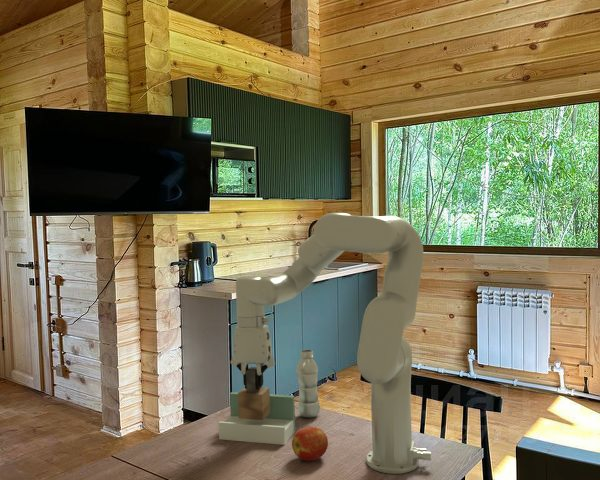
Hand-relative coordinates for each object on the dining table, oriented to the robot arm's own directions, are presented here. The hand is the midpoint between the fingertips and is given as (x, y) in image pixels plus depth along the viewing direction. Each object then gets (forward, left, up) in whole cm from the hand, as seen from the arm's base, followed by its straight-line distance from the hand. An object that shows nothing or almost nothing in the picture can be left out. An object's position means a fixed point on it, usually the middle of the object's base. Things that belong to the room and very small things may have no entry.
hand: (253, 387), depth 150 cm
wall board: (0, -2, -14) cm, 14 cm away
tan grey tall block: (0, 0, -8) cm, 8 cm away
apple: (-18, +9, -14) cm, 25 cm away
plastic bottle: (-10, -19, -14) cm, 26 cm away
